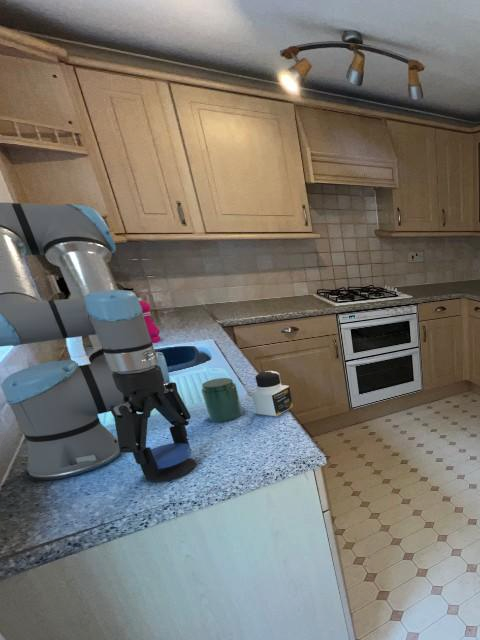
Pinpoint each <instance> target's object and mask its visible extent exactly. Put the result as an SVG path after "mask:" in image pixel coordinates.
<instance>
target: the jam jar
mask: <svg viewBox="0 0 480 640" xmlns="http://www.w3.org/2000/svg"><path fill="white" fill-rule="evenodd" d="M201 394H202V397H203V401H204V404H205V407H206V410H207V414H208V415H207V416H208V418H209V420H210V422H215V423H223V422H229V421H233V420H235V419H237V418H239V417H241V416H242V415H243V413H244V412H243V409H242V408H243V407H242V404H241V401H240V400H241V399H240V396H239V393H238V388H237V384H236V383H234V381H233V379H232V378H228V377H220V378H214V379H209V380H206V381H205V382H203V383H202V385H201Z"/></svg>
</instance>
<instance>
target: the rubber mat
mask: <svg viewBox="0 0 480 640" xmlns="http://www.w3.org/2000/svg"><path fill="white" fill-rule="evenodd" d="M196 467H197V462H196V460H194V459H193V458H190V457H189V458H188V459H186V460H185V461H183V462H181V463H179V464H176V465H174V466H170V467H167V468H162V469H158V471H159V474H158V475H157V476H156V475H144V477H145V480H146V481H147V482H150V483H155V484H157V483H158V484H159V483H166V482H170V481H173V480H177V479H179V478H182V477H184V476H186V475H188V474H190V473H191V472H192V471H194V470H195V469H196Z"/></svg>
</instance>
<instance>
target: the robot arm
mask: <svg viewBox="0 0 480 640" xmlns="http://www.w3.org/2000/svg"><path fill="white" fill-rule="evenodd" d="M115 243H116V242H115V240H114V238H113V235H112V234H111V231H110V229H109V226H108V225H107V223H106V222H105V220H104V218H103V217H102V215H101V214H100V213H99V212H98V211H97V210H96V209H94V208H93V207H91V206H88V205H80V204H79V205H78V204H73V203H66V204H49V203H26V202H25V203H23V202H22V203H21V202H20V203H19V202H0V347H11V346H12V347H18V346H21V345H22V346H23V345H28V344H35V343H42V342H49V341H55V340H63V339H71V338H80V337H88V338H89V340H90V342H91V345H92V347H93V351H92V352H91V353H90V354H89V355H88V361H89V363H87V364H80V365H79V363H78V362H76V361H75V360H73V359H62V360H53V361H49V362H44V363H39V364H35V365H33V366H29V367H27V368H23V369H20V370H18V371H16V372H13V373H12V374H10V375H8V376H6V377H5V378H4V379H3V381H2V383H1V389H2V391H3V394H4V397H5V402H6V404H8V405H9V407H10V408H11V410H12V412H13V415H14V417H15V419H16V421H17V423H18V425H19V428H20V429H21V432H22V433H23V436H24V438H25V440H26V441H27V462H26V469H27V473H28V475H29V476H30V478H31V479H33V480H37V481H55V480H62V479H68V478H72V477H75V476H80V475H82V474H86V473H88V472H92V471H94V470H97V469H100V468H101V467H104V466H105V465H108V464H110V463H112V462H113V461H115V460H116V459H117V458H119V457H120V456H121V455H122V454H123V453H126V454H127V453H130V454H131V453H132V455H133V457H134V460H135V463H136V464H137V465H139V466H140V468H141V472H142V474H143V476H145V475H156V476H157V475H158V474H159V471H158V468H157V465H156V463H155V460H154V457H153V454H152V452H151V449H152V448H151V447H148V446H147V433H148V420H149V418H150V417H151V412H152V411H154V410H156V411H157V412H158V413H159V414H160V415H161V416H162V417H163V418H164V419H166V421H167V422H168V423H170V425H171V426H170V427H168V429H169V431H170V435H171V438H172V441H173V443H186V444H188V445H189V447H190V450H191V449H192V448H191V446H190V443H189V440H188V439H189V438H188V431H187V428H186V426H187V427H188V426H189V424H190V421H189V420H190V419H191V414H190V412H189V410H188V408H187V406H186V404H185V402H184V401H183V399H182V397H181V395H180V393H179V392H178V386H177V383H176V382H171V380H170V379H171V378H170V373H169V369H168V363H167V360H166V357H165V356H164V353H163V352H161V351H155V348H154V343H152V341H151V339H150V335H149V332H148V329H147V326H146V322H145V319H144V316H143V312H142V310H143V309H142V306H141V305H140V304H139V301H138V299H137V298H138V296H137V294H136V293H135V292H133V291H131V290H125V289H124V290H123V289H119V287H118V285H117V283H116V281H115V279H114V276H113V274H112V271H111V269H110V267H109V264H108V263H109V262H110V261H111V260H112V258H113V257H112V256H113V255H112V254H114V253H116V251H117V247H116V244H115ZM25 256H45V258H46V260H47V261H48V262H49V263H50V264H52V265H54V266H57V267H59V269H60V272H61V274H62V276H63V279H64V282H65V284H66V286H67V288H68V291H69V293H70V295H71V298H65V299H64V298H63V299H49V300H41V297H40V295H39V292H38V290H37V287H36V286H35V285H36V284H35V282H34V280H33V278H32V275H31V273H30V271H29V268H28V266H27V263H26V261H25V258H24V257H25ZM109 412H110V413H111V414H112V416H113V418H114V424H115V431H116V436H117V438H116V437H115V436H114V435H113V433H111V432H110V431H109V429H107V428H106V427H105V426H104V425H103V424H102V422H101V420H100V418H99V415H100V414H105V413H109ZM191 451H192V450H191Z"/></svg>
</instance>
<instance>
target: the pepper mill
mask: <svg viewBox="0 0 480 640" xmlns="http://www.w3.org/2000/svg"><path fill="white" fill-rule="evenodd" d="M137 299H138V301H139V304H140V305H141V306H142V309H143V310H142V312H143V316H144V319H145V322H146V326H147V329H148V332H149V335H150V339H151V341H152V344H155V343H158V342H161V341H162V339H161V336H159V335H160V334H161V332H160V329H159V328H158V327H157V325H156V324H155V323H154V322H153V321H152V318H151V315H152V313H151V311H150V310H151V305H150V303H148V302H146V301H143V300H142V298H140V297H137Z"/></svg>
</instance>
